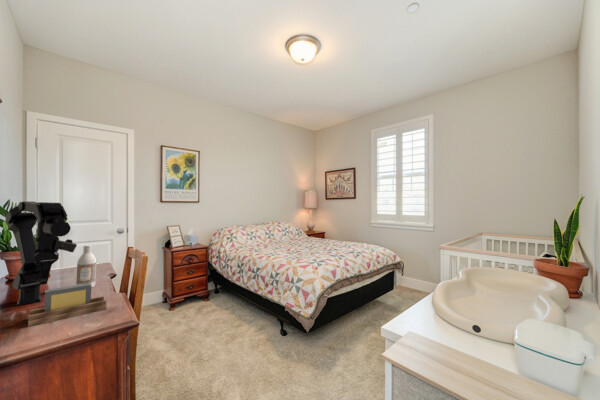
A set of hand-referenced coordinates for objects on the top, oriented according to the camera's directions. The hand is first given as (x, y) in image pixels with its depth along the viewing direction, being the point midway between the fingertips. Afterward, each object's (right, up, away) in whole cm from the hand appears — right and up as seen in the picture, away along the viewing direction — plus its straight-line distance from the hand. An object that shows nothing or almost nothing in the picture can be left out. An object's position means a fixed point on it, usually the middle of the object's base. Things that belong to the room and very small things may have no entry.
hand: (45, 275), depth 95 cm
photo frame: (+14, -11, -6) cm, 18 cm away
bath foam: (-5, -13, +24) cm, 27 cm away
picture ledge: (+14, -12, -5) cm, 20 cm away
